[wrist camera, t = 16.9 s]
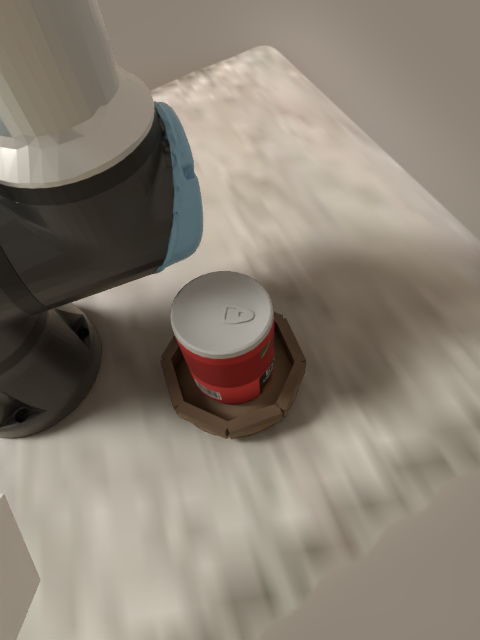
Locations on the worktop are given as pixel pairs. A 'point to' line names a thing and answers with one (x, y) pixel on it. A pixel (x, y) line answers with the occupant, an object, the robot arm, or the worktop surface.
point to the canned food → (226, 335)
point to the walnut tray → (239, 416)
